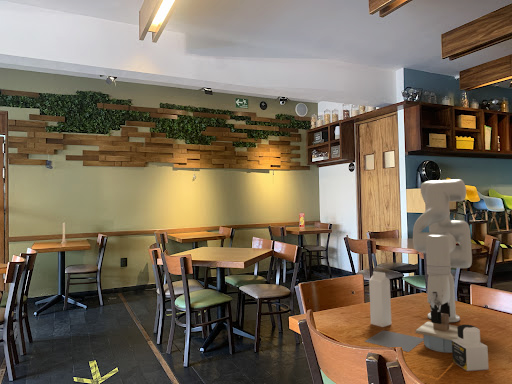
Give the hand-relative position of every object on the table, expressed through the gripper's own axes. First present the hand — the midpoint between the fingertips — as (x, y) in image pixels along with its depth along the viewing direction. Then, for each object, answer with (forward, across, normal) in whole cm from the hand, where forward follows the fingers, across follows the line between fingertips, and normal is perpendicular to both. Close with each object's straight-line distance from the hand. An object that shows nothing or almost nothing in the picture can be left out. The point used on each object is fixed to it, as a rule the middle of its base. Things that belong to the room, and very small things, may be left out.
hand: (440, 319), depth 132 cm
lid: (+4, 0, 0) cm, 4 cm away
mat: (+10, +4, -15) cm, 18 cm away
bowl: (+10, 0, 0) cm, 10 cm away
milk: (+10, -11, -27) cm, 31 cm away
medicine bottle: (+10, +10, +11) cm, 18 cm away
